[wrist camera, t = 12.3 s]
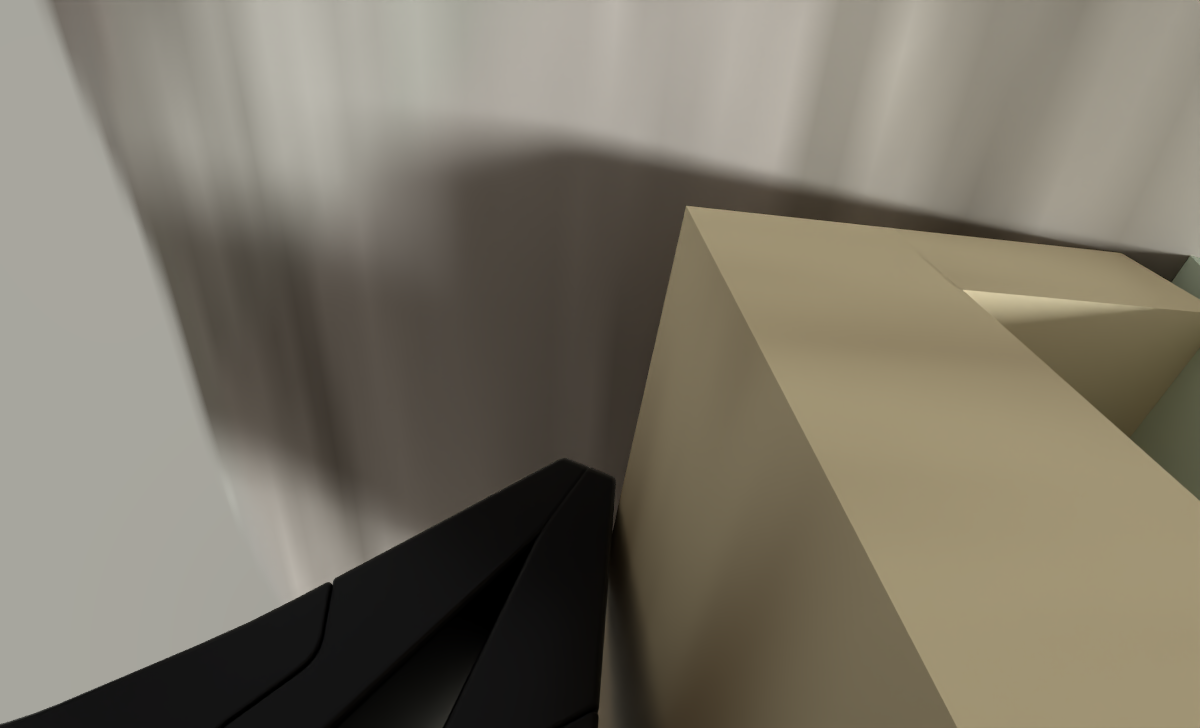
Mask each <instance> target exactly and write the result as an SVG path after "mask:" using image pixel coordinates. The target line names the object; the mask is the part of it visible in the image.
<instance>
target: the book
mask: <svg viewBox="0 0 1200 728" xmlns="http://www.w3.org/2000/svg"><path fill="white" fill-rule="evenodd" d="M1171 283H1173V284H1174V285H1176V286H1178V287H1179V288H1181V289H1183V290H1185V291H1186V292H1188V293H1190V294H1191V295H1193V296H1195V297H1196V298H1198V299H1200V258H1198V257H1194V256H1190V257H1189V258H1188V259H1187V261H1186V262H1185V264H1184V265H1183V267H1182V268H1181V269H1180V271H1179V272H1178V274H1177V275H1176V277H1175V278H1174V279H1173V281H1172V282H1171ZM1130 439H1131V440H1132V441H1133V442H1134V443H1135V444H1136V445H1138V446H1139V447H1140V448H1141V449H1142V450H1143V451H1144V452H1145V453H1147V454H1148V455H1149V456H1150V457H1151V458H1152V459H1153V460H1154V461H1155V462H1157V463H1158V464H1159V465H1160V466H1161V467H1162V468H1163V469H1164V470H1166V471H1167V472H1168V473H1169V474H1170V475H1171V476H1172V477H1173V478H1175V479H1176V480H1177V481H1178V482H1179V483H1180V484H1181V485H1182V486H1184V487H1185V488H1186V489H1187V490H1188V491H1189V492H1190V493H1191V494H1193V495H1194V496H1195V497H1196V498H1197V499H1198V500H1199V501H1200V348H1199V349H1198V351H1197V352H1196V353H1195V355H1194V356H1193V357H1192V358H1191V360H1190V361H1189V362H1188V364H1187V365H1186V366H1185V367H1184V369H1183V370H1182V371H1181V373H1180V374H1179V375H1178V376H1177V378H1176V379H1175V380H1174V382H1173V383H1172V384H1171V385H1170V387H1169V388H1168V389H1167V391H1166V392H1165V393H1164V394H1163V396H1162V397H1161V398H1160V400H1159V401H1158V402H1157V403H1156V405H1155V406H1154V407H1153V409H1152V410H1151V411H1150V412H1149V414H1148V415H1147V416H1146V418H1145V419H1144V420H1143V422H1142V423H1141V424H1140V425H1139V427H1138V428H1137V429H1136V431H1135V432H1134V433H1133V434H1132V436H1131V437H1130Z"/></svg>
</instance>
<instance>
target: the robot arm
mask: <svg viewBox="0 0 1200 728" xmlns="http://www.w3.org/2000/svg"><path fill="white" fill-rule="evenodd" d="M615 485H616V481H615V478H614V477H613V476H610V475H608V474H605V473H603V472H600V471H598V470H595V469H593V468H589V467H588V466H585V465H583V464H580V463H578V462H575V461H573V460H570V459H567V458H563V459H560V460H557V461H556V462H554V463H552V464H550V465H548V466H546V467H544V468H542V469H540V470H539V471H537V472H535V473H533V474H531V475H529V476H527V477H525V478H523V479H522V480H520V481H518V482H516V483H514V484H512V485H510V486H508V487H507V488H505V489H503V490H501V491H499V492H497V493H495V494H493V495H491V496H490V497H488V498H486V499H484V500H482V501H480V502H478V503H476V504H474V505H473V506H471V507H469V508H467V509H465V510H463V511H461V512H459V513H457V514H456V515H454V516H452V517H450V518H448V519H446V520H444V521H442V522H440V523H439V524H437V525H435V526H433V527H431V528H429V529H427V530H425V531H423V532H422V533H420V534H418V535H416V536H414V537H412V538H410V539H408V540H407V541H405V542H403V543H401V544H399V545H397V546H395V547H393V548H391V549H390V550H388V551H386V552H384V553H382V554H380V555H378V556H376V557H374V558H373V559H371V560H369V561H367V562H365V563H363V564H361V565H359V566H357V567H356V568H354V569H352V570H350V571H348V572H346V573H344V574H342V575H340V576H339V577H337V578H335V579H334V581H333V585H332V584H331V583H330V582H327V583H325V584H323V585H321V586H319V587H317V588H315V589H313V590H312V591H310V592H308V593H306V594H304V595H302V596H300V597H298V598H296V599H294V600H292V601H290V602H288V603H286V604H284V605H282V606H280V607H279V608H276V609H274V610H272V611H271V612H268V613H266V614H265V615H263V616H260V617H258V618H257V619H255V620H252V621H251V622H248V623H246V624H244V625H242V626H239V627H237V628H235V629H233V630H231V631H228V632H226V633H224V634H221V635H219V636H217V637H215V638H212V639H210V640H208V641H206V642H204V643H201V644H199V645H197V646H195V647H192V648H190V649H188V650H185V651H183V652H180V653H178V654H176V655H173V656H171V657H169V658H166V659H164V660H162V661H159V662H157V663H154V664H152V665H150V666H147V667H145V668H143V669H140V670H138V671H135V672H133V673H131V674H129V675H126V676H124V677H121V678H119V679H117V680H114V681H112V682H109V683H107V684H105V685H102V686H100V687H98V688H95V689H93V690H91V691H88V692H86V693H83V694H81V695H79V696H76V697H74V698H72V699H69V700H67V701H64V702H62V703H60V704H57V705H55V706H52V707H50V708H47V709H44V710H42V711H40V712H37V713H34V714H31V715H28V716H25V717H22V718H19V719H16V720H13V721H10V722H7V723H3V724H0V728H598V721H599V716H598V714H597V713H598V710H599V702H600V689H601V675H602V662H603V648H604V635H605V621H606V608H607V594H608V580H609V567H610V553H611V540H612V526H613V513H614V499H615Z"/></svg>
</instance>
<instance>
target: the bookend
mask: <svg viewBox="0 0 1200 728" xmlns="http://www.w3.org/2000/svg"><path fill="white" fill-rule="evenodd" d="M1199 348H1200V299H1198V298H1196V297H1195V296H1193V295H1191V294H1190V293H1188V292H1186V291H1185V290H1183V289H1181V288H1179V287H1178V286H1176V285H1174V284H1173V283H1171V282H1169V281H1168V280H1166V279H1164V278H1163V277H1161V276H1159V275H1157V274H1156V273H1154V272H1152V271H1151V270H1149V269H1147V268H1146V267H1144V266H1142V265H1140V264H1139V263H1137V262H1135V261H1134V260H1132V259H1130V258H1129V257H1127V256H1125V255H1123V254H1122V253H1117V252H1107V251H1098V250H1089V249H1080V248H1070V247H1061V246H1052V245H1043V244H1034V243H1024V242H1015V241H1006V240H997V239H987V238H978V237H969V236H960V235H951V234H941V233H932V232H923V231H914V230H905V229H895V228H886V227H877V226H868V225H858V224H849V223H840V222H831V221H822V220H812V219H803V218H794V217H785V216H776V215H766V214H757V213H748V212H739V211H729V210H720V209H711V208H702V207H693V206H686V209H685V213H684V217H683V222H682V226H681V231H680V235H679V240H678V244H677V248H676V253H675V257H674V262H673V266H672V271H671V275H670V279H669V284H668V288H667V293H666V297H665V302H664V306H663V310H662V315H661V319H660V324H659V328H658V333H657V337H656V341H655V346H654V350H653V355H652V359H651V364H650V368H649V372H648V377H647V381H646V386H645V390H644V395H643V399H642V403H641V408H640V412H639V417H638V421H637V426H636V430H635V434H634V439H633V443H632V448H631V452H630V457H629V461H628V465H627V470H626V474H625V479H624V483H623V488H622V492H621V496H620V501H619V505H618V510H617V514H616V519H615V523H614V527H613V532H612V540H611V553H610V567H609V580H608V594H607V608H606V621H605V635H604V648H603V662H602V675H601V689H600V702H599V710H598V713H597V714H598V716H599V721H598V728H1200V501H1199V500H1198V499H1197V498H1196V497H1195V496H1194V495H1193V494H1191V493H1190V492H1189V491H1188V490H1187V489H1186V488H1185V487H1184V486H1182V485H1181V484H1180V483H1179V482H1178V481H1177V480H1176V479H1175V478H1173V477H1172V476H1171V475H1170V474H1169V473H1168V472H1167V471H1166V470H1164V469H1163V468H1162V467H1161V466H1160V465H1159V464H1158V463H1157V462H1155V461H1154V460H1153V459H1152V458H1151V457H1150V456H1149V455H1148V454H1147V453H1145V452H1144V451H1143V450H1142V449H1141V448H1140V447H1139V446H1138V445H1136V444H1135V443H1134V442H1133V441H1132V440H1131V439H1130V437H1131V436H1132V434H1133V433H1134V432H1135V431H1136V429H1137V428H1138V427H1139V425H1140V424H1141V423H1142V422H1143V420H1144V419H1145V418H1146V416H1147V415H1148V414H1149V412H1150V411H1151V410H1152V409H1153V407H1154V406H1155V405H1156V403H1157V402H1158V401H1159V400H1160V398H1161V397H1162V396H1163V394H1164V393H1165V392H1166V391H1167V389H1168V388H1169V387H1170V385H1171V384H1172V383H1173V382H1174V380H1175V379H1176V378H1177V376H1178V375H1179V374H1180V373H1181V371H1182V370H1183V369H1184V367H1185V366H1186V365H1187V364H1188V362H1189V361H1190V360H1191V358H1192V357H1193V356H1194V355H1195V353H1196V352H1197V351H1198V349H1199Z"/></svg>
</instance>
